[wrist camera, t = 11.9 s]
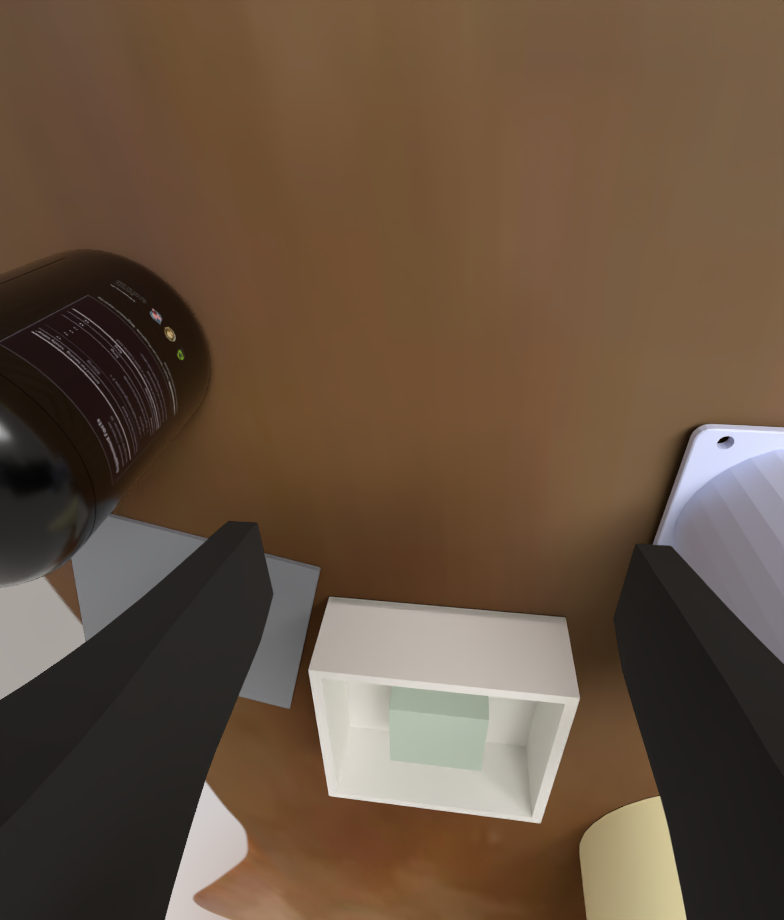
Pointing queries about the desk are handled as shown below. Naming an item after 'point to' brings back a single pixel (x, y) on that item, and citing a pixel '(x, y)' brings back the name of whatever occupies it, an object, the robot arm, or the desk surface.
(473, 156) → the desk surface
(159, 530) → the gray lid
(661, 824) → the cone light
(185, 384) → the supplement bottle
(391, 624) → the white open box
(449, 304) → the desk surface
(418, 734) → the sage block
